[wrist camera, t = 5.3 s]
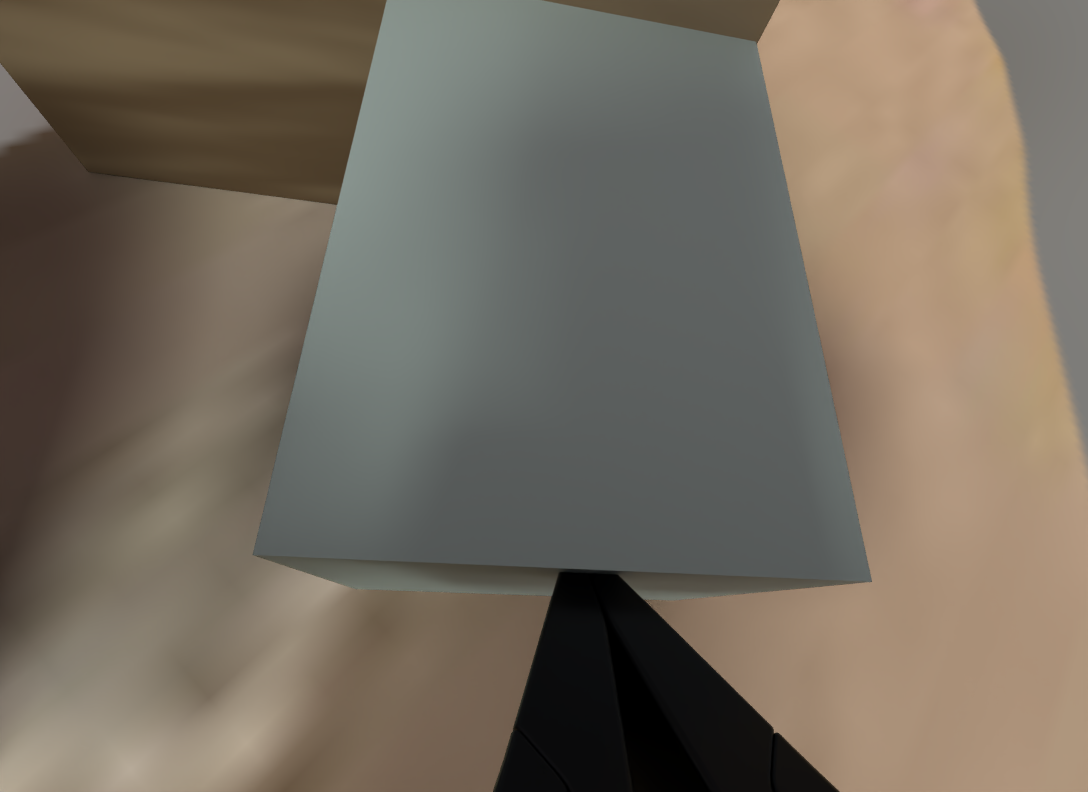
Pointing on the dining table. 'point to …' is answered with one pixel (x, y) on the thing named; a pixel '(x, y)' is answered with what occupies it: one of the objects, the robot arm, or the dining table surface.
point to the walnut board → (237, 81)
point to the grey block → (562, 324)
